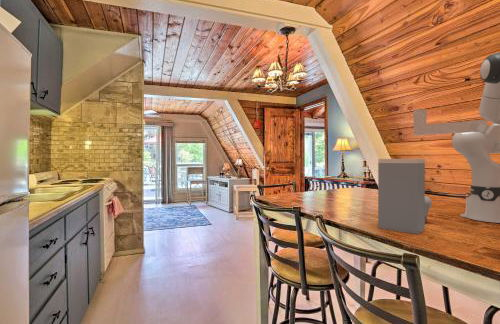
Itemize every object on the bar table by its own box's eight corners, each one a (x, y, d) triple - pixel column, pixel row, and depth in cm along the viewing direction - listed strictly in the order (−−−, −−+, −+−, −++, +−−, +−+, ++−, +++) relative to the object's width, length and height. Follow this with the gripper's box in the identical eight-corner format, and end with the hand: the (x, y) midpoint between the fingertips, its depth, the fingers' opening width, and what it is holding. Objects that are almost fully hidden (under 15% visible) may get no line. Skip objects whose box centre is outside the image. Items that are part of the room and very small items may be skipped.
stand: (387, 223, 110) (387, 158, 110) (424, 229, 101) (424, 158, 101) (378, 227, 103) (378, 158, 103) (417, 234, 94) (417, 158, 94)
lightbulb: (434, 224, 108) (434, 196, 108) (417, 223, 110) (417, 196, 109) (428, 220, 114) (428, 194, 114) (411, 220, 115) (412, 194, 115)
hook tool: (415, 135, 91) (415, 111, 91) (487, 131, 79) (487, 103, 79) (413, 134, 89) (413, 110, 89) (486, 130, 77) (486, 101, 77)
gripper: (537, 138, 78) (482, 118, 86) (542, 133, 63) (475, 110, 72) (521, 157, 80) (469, 136, 88) (523, 157, 65) (460, 132, 74)
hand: (472, 124), depth 80 cm, fingers closed on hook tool, 3 cm apart
